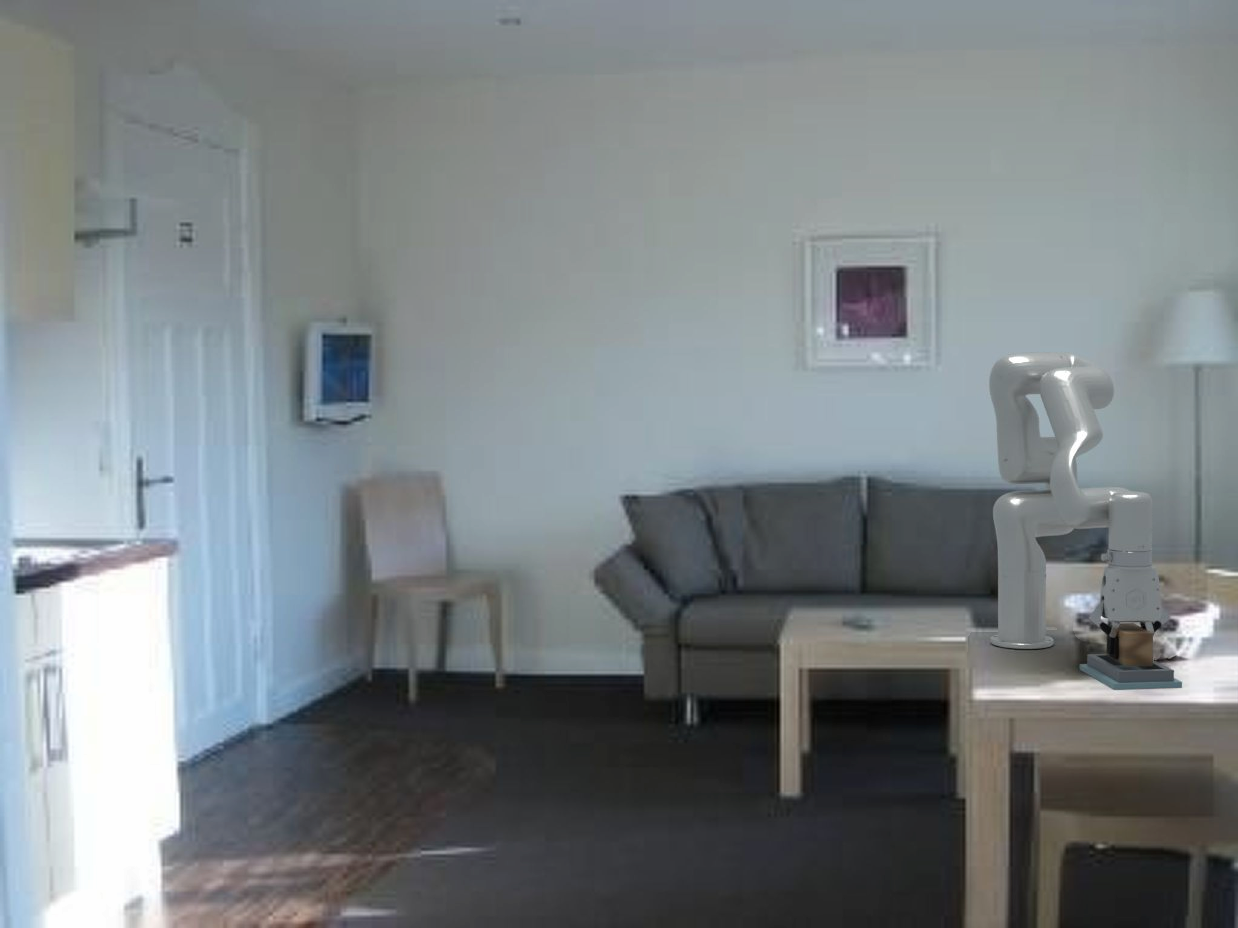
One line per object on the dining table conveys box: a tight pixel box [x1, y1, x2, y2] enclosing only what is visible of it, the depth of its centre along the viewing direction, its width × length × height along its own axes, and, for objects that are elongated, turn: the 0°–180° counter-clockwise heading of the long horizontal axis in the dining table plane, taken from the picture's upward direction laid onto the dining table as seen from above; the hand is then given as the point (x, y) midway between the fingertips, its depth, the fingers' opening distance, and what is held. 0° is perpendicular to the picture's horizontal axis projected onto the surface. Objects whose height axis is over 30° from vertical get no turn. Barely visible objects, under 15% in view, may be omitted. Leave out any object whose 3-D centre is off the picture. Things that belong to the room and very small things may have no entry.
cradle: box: [1079, 653, 1183, 690], centre depth 275 cm, size 17×12×3 cm
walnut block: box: [1105, 622, 1153, 667], centre depth 275 cm, size 5×10×6 cm, turn 1°
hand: (1129, 656), depth 275 cm, fingers closed on walnut block, 5 cm apart
